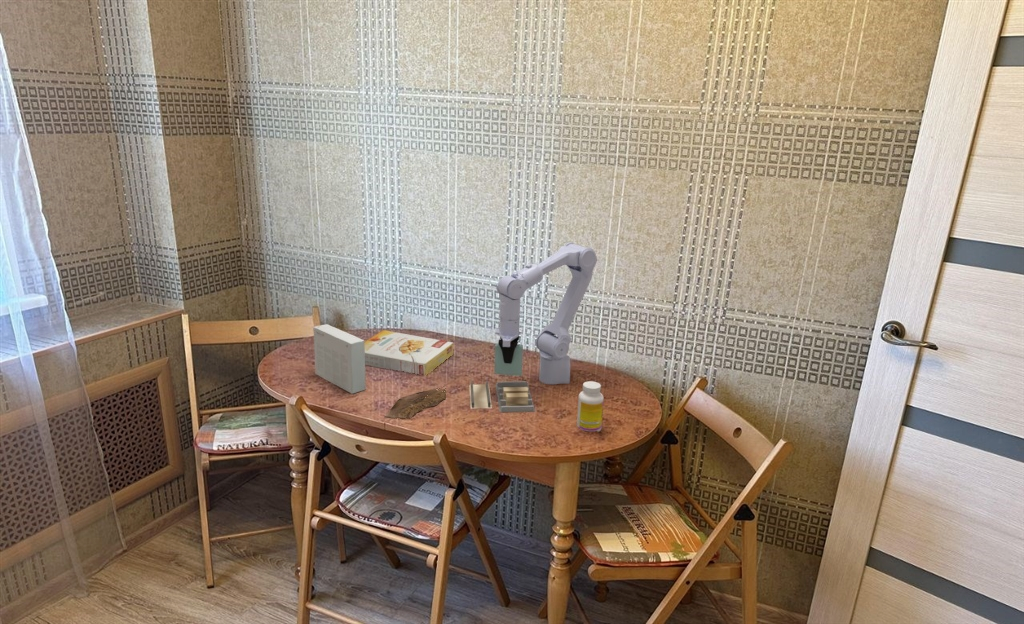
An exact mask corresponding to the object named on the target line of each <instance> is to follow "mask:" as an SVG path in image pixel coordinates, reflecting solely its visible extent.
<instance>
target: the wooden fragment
mask: <svg viewBox="0 0 1024 624" xmlns="http://www.w3.org/2000/svg"><path fill="white" fill-rule="evenodd" d="M438 388H439V387H437V388H432V389H429V390H427V389H426V390H423V391H418V392H415V393H413V394H408V395H405V396H402V397H401V398H398V399H397V400H396V402H395V403H394V404H393V406H391V408H390V409H389V410H388V412H387V413H386V414H385V415H384V418H386V419H392V420H398V419H397V418H400V419H399V420H406V419H405V418H409V420H410V419H412V418H413V417H414V416H415V415H416V414H417V413H420V412H422V411H423V410H425V409H427V408H432V407H436V406H437V405H439V404H440V402H441V401H444V400H446V398H447V387H446V388H445V389H446V390H445V389H443V390H439V389H440V388H439V389H438ZM436 389H438V390H439V391H437V390H436ZM442 391H443V392H442ZM444 391H445V392H444ZM427 395H428V396H427ZM425 397H426V398H425ZM424 408H425V409H424Z"/></svg>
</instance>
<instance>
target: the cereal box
mask: <svg viewBox="0 0 1024 624" xmlns="http://www.w3.org/2000/svg"><path fill="white" fill-rule="evenodd" d="M364 344H365V366H369V367H370V366H371V367H373V368H374V367H375V368H379V369H385V368H386V370H390V369H391V370H392V369H393V370H392V371H396V370H398V371H397V372H401V371H404V372H403V373H406V372H409V373H408V374H412V373H415V374H414V375H417V374H421V375H420V376H422V375H427V374H428V373H429V374H431V373H432V372H433V371H434V370H433V369H435V368H436V367H437V366H438V367H440V366H441V365H442V364H443V362H444V361H445V360H446V359H447V360H449V359H450V358H451V357H452V356H453V355H454V342H452V341H447V340H442V339H441V340H440V339H435V338H430V337H424V336H419V335H413V334H408V333H402V332H395V331H390V330H384V329H383V330H381V331H380V332H378V333H376V334H375V335H373V336H371V337H370V338H368V339H367V340H364ZM450 356H451V357H450ZM449 357H450V358H449ZM448 358H449V359H448ZM447 360H446V361H447ZM446 361H445V362H446ZM445 362H444V363H445ZM441 363H442V364H441ZM440 364H441V365H440ZM439 365H440V366H439ZM438 367H437V368H438ZM437 368H436V369H437ZM436 369H435V370H436ZM432 370H433V371H432ZM431 371H432V372H431ZM430 372H431V373H430ZM429 374H428V375H429ZM428 375H427V376H428Z"/></svg>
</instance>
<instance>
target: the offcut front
mask: <svg viewBox="0 0 1024 624" xmlns="http://www.w3.org/2000/svg"><path fill="white" fill-rule="evenodd" d="M506 406H528V394H527V393H506Z"/></svg>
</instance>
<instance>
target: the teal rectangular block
mask: <svg viewBox="0 0 1024 624" xmlns="http://www.w3.org/2000/svg"><path fill="white" fill-rule="evenodd" d="M523 353H524V345H523V344H517V346H516V348H515V350H514V354H513V359H512V363H511V364H509V363H504V360H503V354H502V350H501V348H500V346H499V344H498V342H496V343H495V345H494V374H493V375H499V376H502V375H503V376H516V377H522V374H523V359H524V358H523V357H524V355H523Z"/></svg>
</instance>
